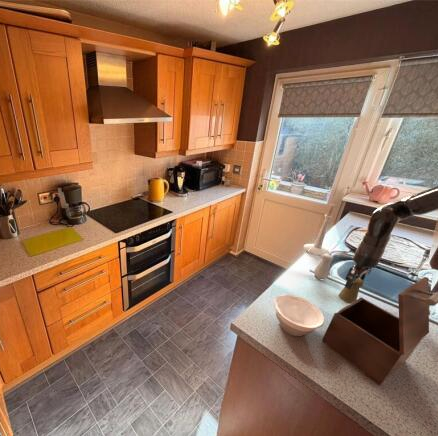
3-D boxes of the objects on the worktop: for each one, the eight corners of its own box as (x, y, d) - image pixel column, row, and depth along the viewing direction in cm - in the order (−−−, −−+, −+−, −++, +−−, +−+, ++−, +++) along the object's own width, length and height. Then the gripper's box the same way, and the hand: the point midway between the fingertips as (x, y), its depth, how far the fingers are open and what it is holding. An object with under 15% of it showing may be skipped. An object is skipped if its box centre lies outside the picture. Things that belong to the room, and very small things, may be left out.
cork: (358, 304, 98) (369, 284, 94) (341, 301, 100) (351, 281, 95) (352, 295, 103) (361, 275, 99) (336, 292, 105) (345, 272, 101)
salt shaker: (329, 279, 113) (338, 257, 108) (320, 282, 111) (329, 259, 106) (318, 272, 118) (326, 251, 113) (309, 274, 117) (317, 253, 111)
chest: (321, 340, 83) (334, 312, 77) (347, 324, 89) (361, 297, 83) (379, 385, 69) (401, 355, 63) (405, 362, 76) (426, 332, 70)
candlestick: (302, 243, 145) (317, 198, 133) (327, 248, 140) (345, 201, 127) (304, 252, 135) (320, 205, 122) (331, 258, 129) (350, 209, 117)
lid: (398, 294, 62) (427, 301, 57) (424, 276, 68) (452, 281, 63) (399, 353, 63) (427, 365, 59) (425, 331, 70) (452, 340, 65)
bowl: (321, 326, 88) (328, 309, 85) (311, 354, 78) (319, 336, 75) (276, 304, 99) (281, 288, 95) (262, 326, 88) (267, 309, 85)
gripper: (371, 262, 86) (354, 295, 93) (389, 253, 91) (372, 285, 98) (348, 252, 92) (334, 284, 99) (366, 244, 98) (352, 275, 104)
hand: (353, 284), depth 99 cm, fingers open, 8 cm apart
